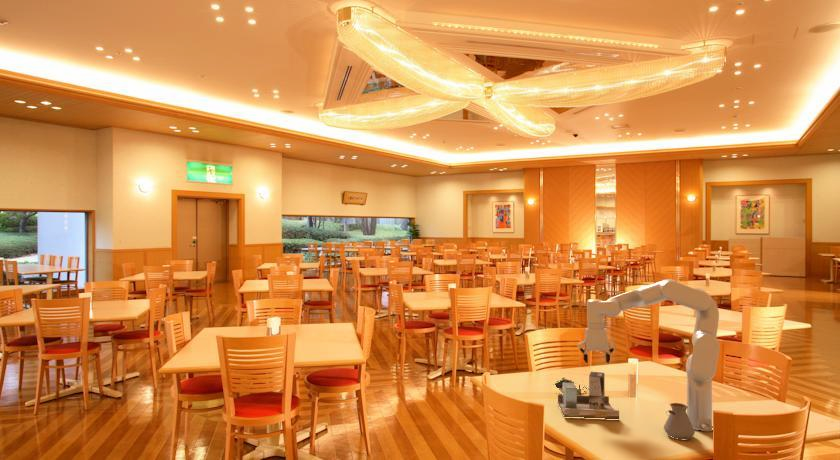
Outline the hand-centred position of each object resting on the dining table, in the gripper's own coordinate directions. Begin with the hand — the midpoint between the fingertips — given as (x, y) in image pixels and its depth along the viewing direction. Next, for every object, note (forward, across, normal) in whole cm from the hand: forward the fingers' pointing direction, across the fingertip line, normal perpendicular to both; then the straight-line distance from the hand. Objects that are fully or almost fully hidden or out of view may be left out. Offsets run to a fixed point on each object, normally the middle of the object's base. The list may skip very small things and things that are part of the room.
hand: (596, 362), depth 232 cm
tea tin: (+22, +13, -1) cm, 25 cm away
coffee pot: (+25, -24, +28) cm, 44 cm away
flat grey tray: (+24, +5, 0) cm, 24 cm away
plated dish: (+24, +7, -32) cm, 41 cm away
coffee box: (+22, 0, 0) cm, 22 cm away
